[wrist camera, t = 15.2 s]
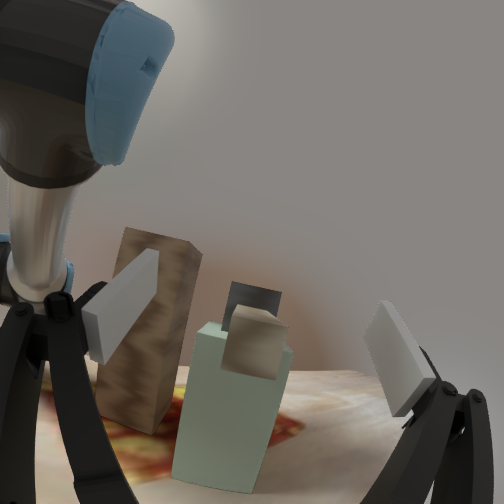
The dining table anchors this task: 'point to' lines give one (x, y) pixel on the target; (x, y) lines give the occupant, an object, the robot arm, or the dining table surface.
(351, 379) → the dining table surface
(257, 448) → the pale green block
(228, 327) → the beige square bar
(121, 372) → the stand tall
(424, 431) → the robot arm
